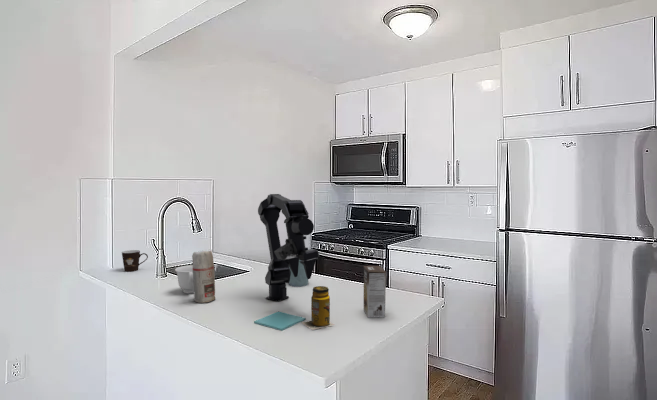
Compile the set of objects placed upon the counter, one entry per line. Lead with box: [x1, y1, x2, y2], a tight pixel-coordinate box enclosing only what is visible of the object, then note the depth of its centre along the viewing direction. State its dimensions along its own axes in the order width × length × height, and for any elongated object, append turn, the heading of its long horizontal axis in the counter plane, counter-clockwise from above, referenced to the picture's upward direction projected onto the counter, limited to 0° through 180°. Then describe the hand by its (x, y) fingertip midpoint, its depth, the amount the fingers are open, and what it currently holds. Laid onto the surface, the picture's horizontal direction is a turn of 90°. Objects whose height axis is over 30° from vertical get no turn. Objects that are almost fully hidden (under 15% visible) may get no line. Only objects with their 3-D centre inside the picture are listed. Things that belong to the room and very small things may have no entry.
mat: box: [253, 311, 306, 332], centre depth 132 cm, size 12×12×1 cm
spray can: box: [191, 249, 216, 304], centre depth 155 cm, size 8×8×20 cm
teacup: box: [174, 264, 194, 294], centre depth 166 cm, size 12×15×10 cm
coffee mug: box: [121, 249, 149, 273], centre depth 207 cm, size 12×9×10 cm
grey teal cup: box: [288, 259, 309, 288], centre depth 180 cm, size 10×10×12 cm
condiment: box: [301, 285, 336, 331], centre depth 129 cm, size 7×8×12 cm
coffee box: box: [362, 265, 387, 318], centre depth 140 cm, size 9×6×16 cm
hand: (302, 277), depth 142 cm, fingers open, 9 cm apart
